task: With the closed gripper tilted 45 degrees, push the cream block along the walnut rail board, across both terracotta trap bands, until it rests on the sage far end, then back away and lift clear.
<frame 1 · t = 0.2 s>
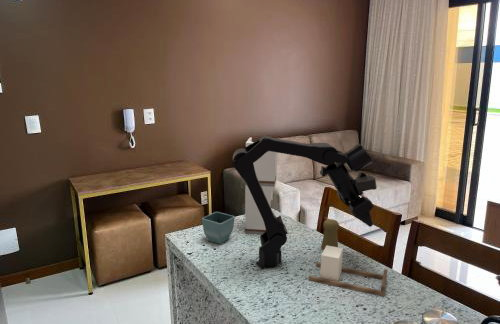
hand: (366, 220, 123), 15 cm above the table, tool tilted 35°, fingers open, 9 cm apart
flower pot: (218, 240, 143), on the table
cork: (329, 250, 136), on the table
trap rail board: (347, 281, 116), on the table
tall white pillar: (260, 229, 153), on the table
cream block: (331, 264, 116), point 5 cm above the table, slide at 0.0 cm
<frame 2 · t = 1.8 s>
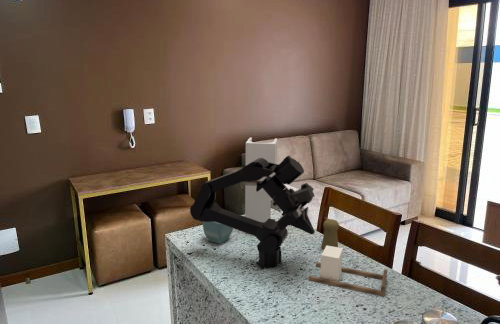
hand: (313, 233, 117), 13 cm above the table, tool tilted 45°, fingers closed
nothing on the table moved.
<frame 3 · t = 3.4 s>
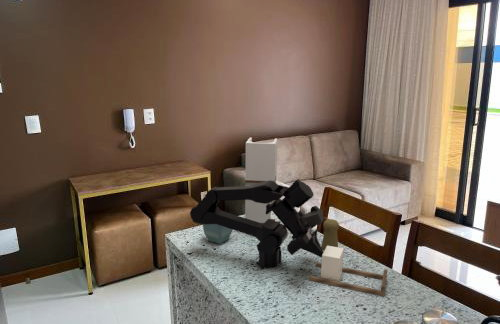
hand: (323, 256, 117), 7 cm above the table, tool tilted 45°, fingers closed, pressing on cream block
cream block: (332, 264, 116), point 5 cm above the table, slide at 0.2 cm, touching gripper
everything else where it was.
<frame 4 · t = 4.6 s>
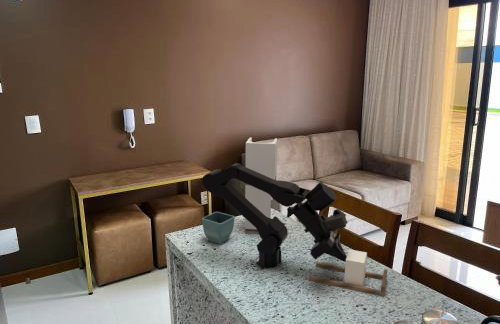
hand: (346, 260, 114), 7 cm above the table, tool tilted 45°, fingers closed, pressing on cream block
cream block: (355, 268, 114), point 5 cm above the table, slide at 7.0 cm, touching gripper
everything else where it was.
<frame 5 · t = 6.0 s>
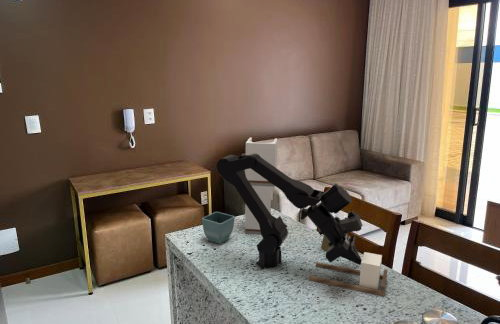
hand: (361, 263, 113), 7 cm above the table, tool tilted 45°, fingers closed, pressing on cream block
cream block: (370, 271, 112), point 5 cm above the table, slide at 11.2 cm, touching gripper
everything else where it was.
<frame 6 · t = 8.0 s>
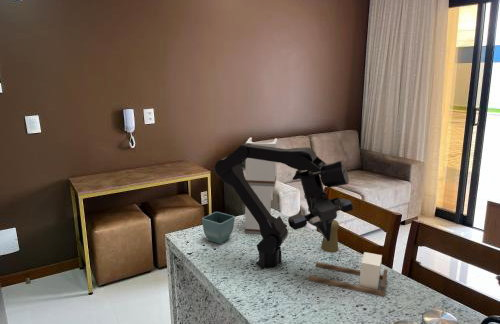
hand: (328, 240, 115), 12 cm above the table, tool tilted 20°, fingers closed
cream block: (370, 271, 112), point 5 cm above the table, slide at 11.2 cm
everything else where it was.
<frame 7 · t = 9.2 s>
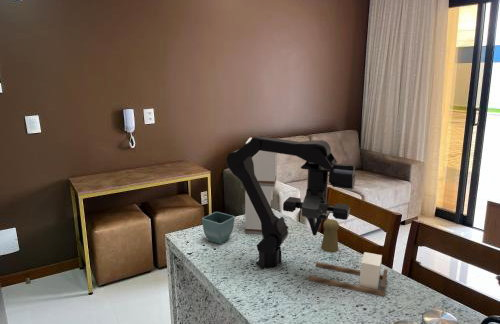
hand: (314, 235, 116), 13 cm above the table, tool pointing down, fingers closed
nothing on the table moved.
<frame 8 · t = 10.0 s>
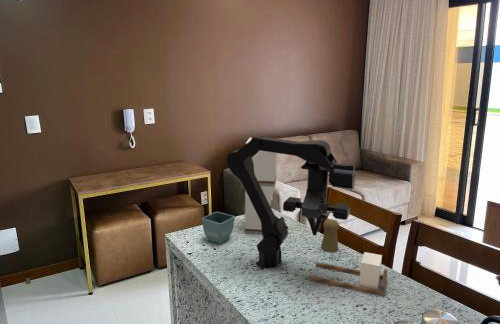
hand: (314, 235, 116), 13 cm above the table, tool pointing down, fingers closed
nothing on the table moved.
at the end: cream block slide at 11.2 cm; cork moved 0.2 cm from its start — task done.
